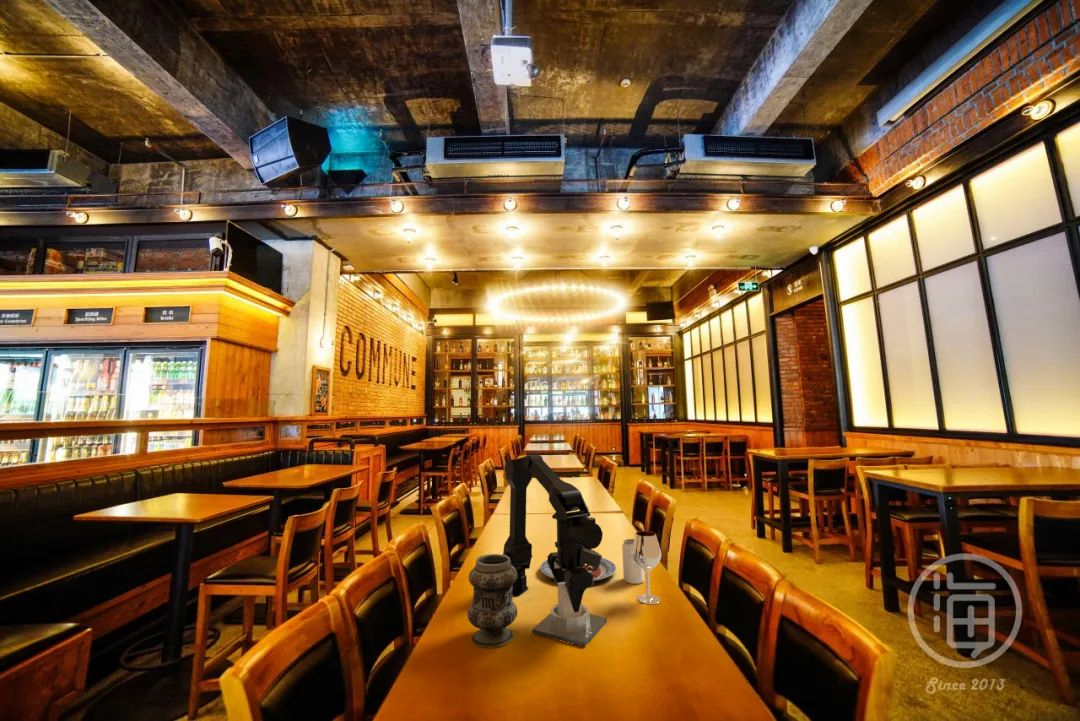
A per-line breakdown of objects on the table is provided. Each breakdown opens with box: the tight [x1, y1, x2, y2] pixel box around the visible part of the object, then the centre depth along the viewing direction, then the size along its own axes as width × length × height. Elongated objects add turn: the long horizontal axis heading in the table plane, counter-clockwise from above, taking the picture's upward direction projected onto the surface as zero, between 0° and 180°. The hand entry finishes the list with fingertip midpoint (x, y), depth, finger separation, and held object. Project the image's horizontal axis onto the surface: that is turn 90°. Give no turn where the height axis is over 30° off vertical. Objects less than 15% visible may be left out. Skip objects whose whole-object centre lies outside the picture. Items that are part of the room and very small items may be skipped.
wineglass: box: [632, 530, 662, 605], centre depth 123 cm, size 8×8×18 cm
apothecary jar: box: [466, 553, 518, 649], centre depth 104 cm, size 12×12×18 cm
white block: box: [557, 582, 583, 618], centre depth 107 cm, size 5×5×9 cm
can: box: [621, 538, 645, 585], centre depth 137 cm, size 6×6×12 cm
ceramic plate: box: [539, 557, 617, 582], centre depth 145 cm, size 26×26×3 cm
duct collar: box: [531, 603, 608, 648], centre depth 107 cm, size 14×14×4 cm
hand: (569, 604), depth 107 cm, fingers open, 9 cm apart
